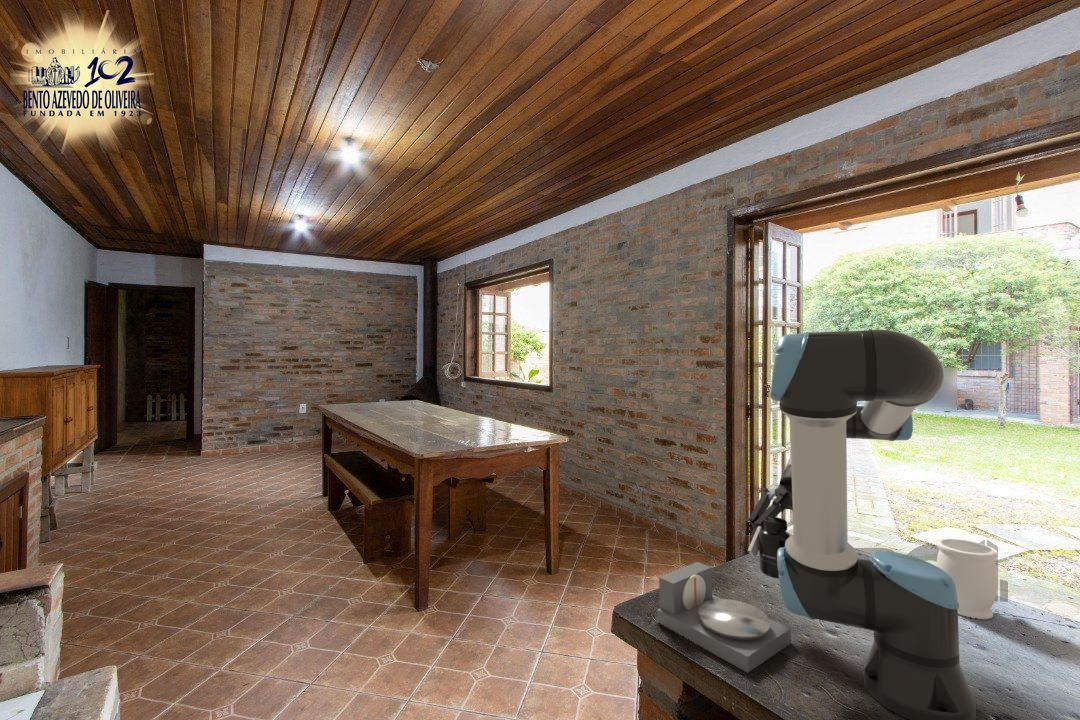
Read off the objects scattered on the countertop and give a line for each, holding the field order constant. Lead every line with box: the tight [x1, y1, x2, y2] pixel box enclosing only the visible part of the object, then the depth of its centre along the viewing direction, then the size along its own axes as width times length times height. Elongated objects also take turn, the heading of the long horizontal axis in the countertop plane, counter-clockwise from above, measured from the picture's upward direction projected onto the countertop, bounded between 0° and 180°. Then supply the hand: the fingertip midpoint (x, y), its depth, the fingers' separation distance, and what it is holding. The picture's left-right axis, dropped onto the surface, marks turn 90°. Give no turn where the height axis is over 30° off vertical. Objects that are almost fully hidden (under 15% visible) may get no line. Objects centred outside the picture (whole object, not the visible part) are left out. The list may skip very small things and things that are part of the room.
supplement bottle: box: [758, 516, 791, 579], centre depth 107 cm, size 7×7×12 cm
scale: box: [656, 561, 792, 674], centre depth 102 cm, size 22×16×10 cm
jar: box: [936, 538, 999, 620], centre depth 109 cm, size 11×10×15 cm
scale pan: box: [699, 598, 770, 640], centre depth 100 cm, size 14×14×1 cm
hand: (767, 558), depth 105 cm, fingers closed on supplement bottle, 7 cm apart
